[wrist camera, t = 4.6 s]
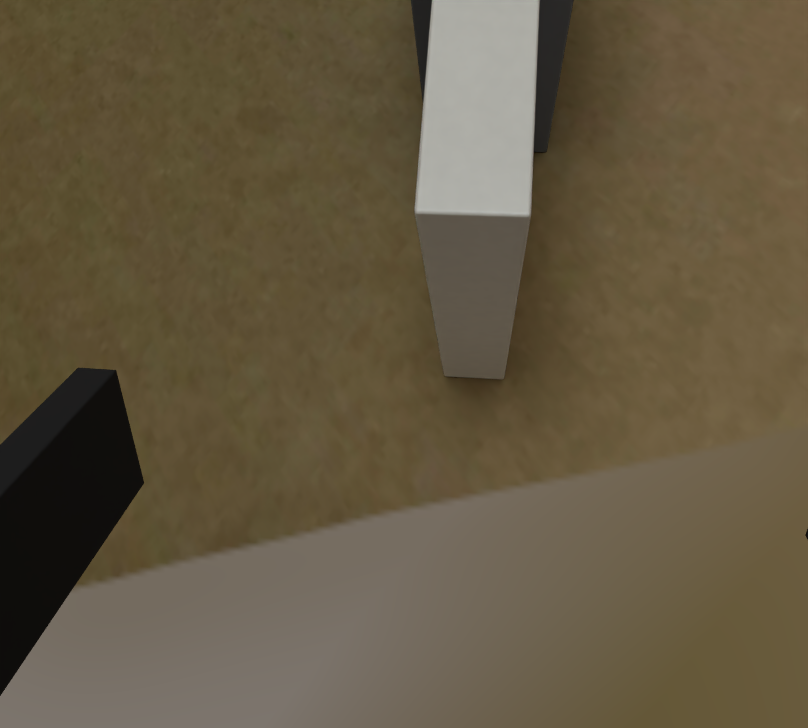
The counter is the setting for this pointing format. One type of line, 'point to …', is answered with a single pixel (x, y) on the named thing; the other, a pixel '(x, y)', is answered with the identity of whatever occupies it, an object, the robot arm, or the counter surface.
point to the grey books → (549, 59)
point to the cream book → (477, 175)
